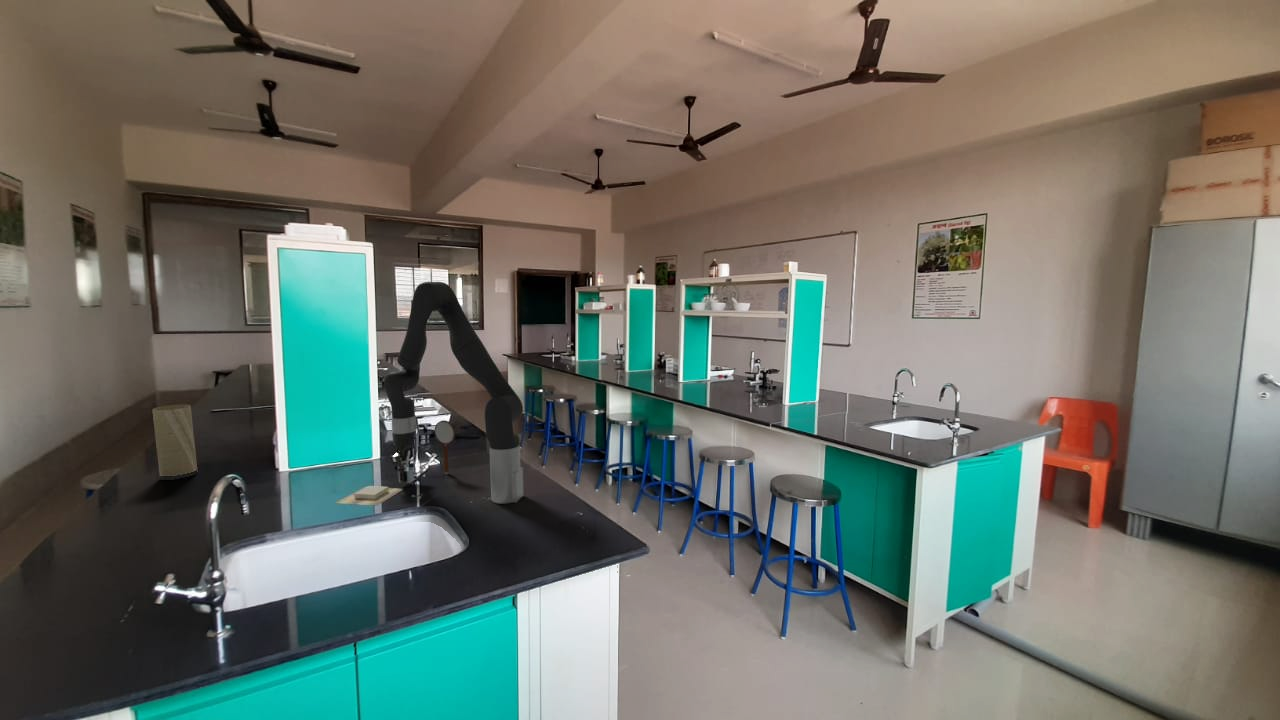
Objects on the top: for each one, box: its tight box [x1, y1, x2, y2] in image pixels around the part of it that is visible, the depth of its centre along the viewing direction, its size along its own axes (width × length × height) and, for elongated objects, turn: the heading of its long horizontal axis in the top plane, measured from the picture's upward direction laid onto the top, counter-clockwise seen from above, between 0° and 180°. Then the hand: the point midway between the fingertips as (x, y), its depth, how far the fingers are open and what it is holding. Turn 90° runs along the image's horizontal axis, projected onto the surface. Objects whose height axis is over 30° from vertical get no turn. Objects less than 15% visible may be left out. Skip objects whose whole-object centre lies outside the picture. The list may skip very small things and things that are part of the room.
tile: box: [353, 485, 390, 500], centre depth 166 cm, size 7×2×7 cm
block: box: [397, 466, 416, 484], centre depth 174 cm, size 4×4×4 cm
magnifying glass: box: [434, 419, 457, 475], centre depth 185 cm, size 9×2×20 cm, turn 71°
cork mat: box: [335, 486, 404, 507], centre depth 165 cm, size 14×14×1 cm
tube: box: [151, 404, 198, 477], centre depth 183 cm, size 10×10×25 cm
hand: (407, 479), depth 174 cm, fingers closed on block, 4 cm apart
